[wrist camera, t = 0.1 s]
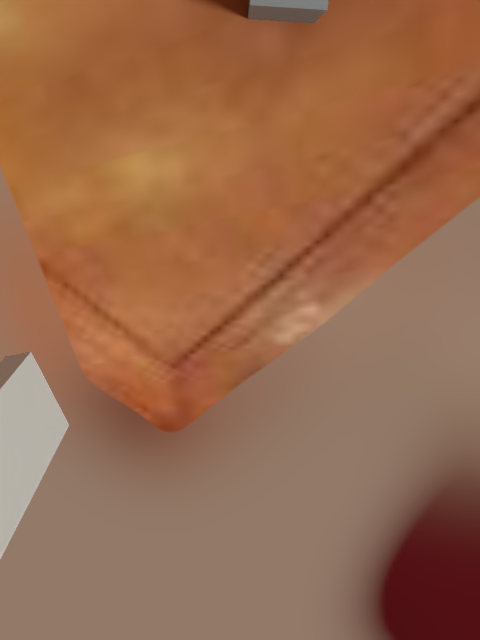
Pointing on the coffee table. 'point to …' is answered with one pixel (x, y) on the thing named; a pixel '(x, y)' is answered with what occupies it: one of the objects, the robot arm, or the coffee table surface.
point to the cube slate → (287, 10)
